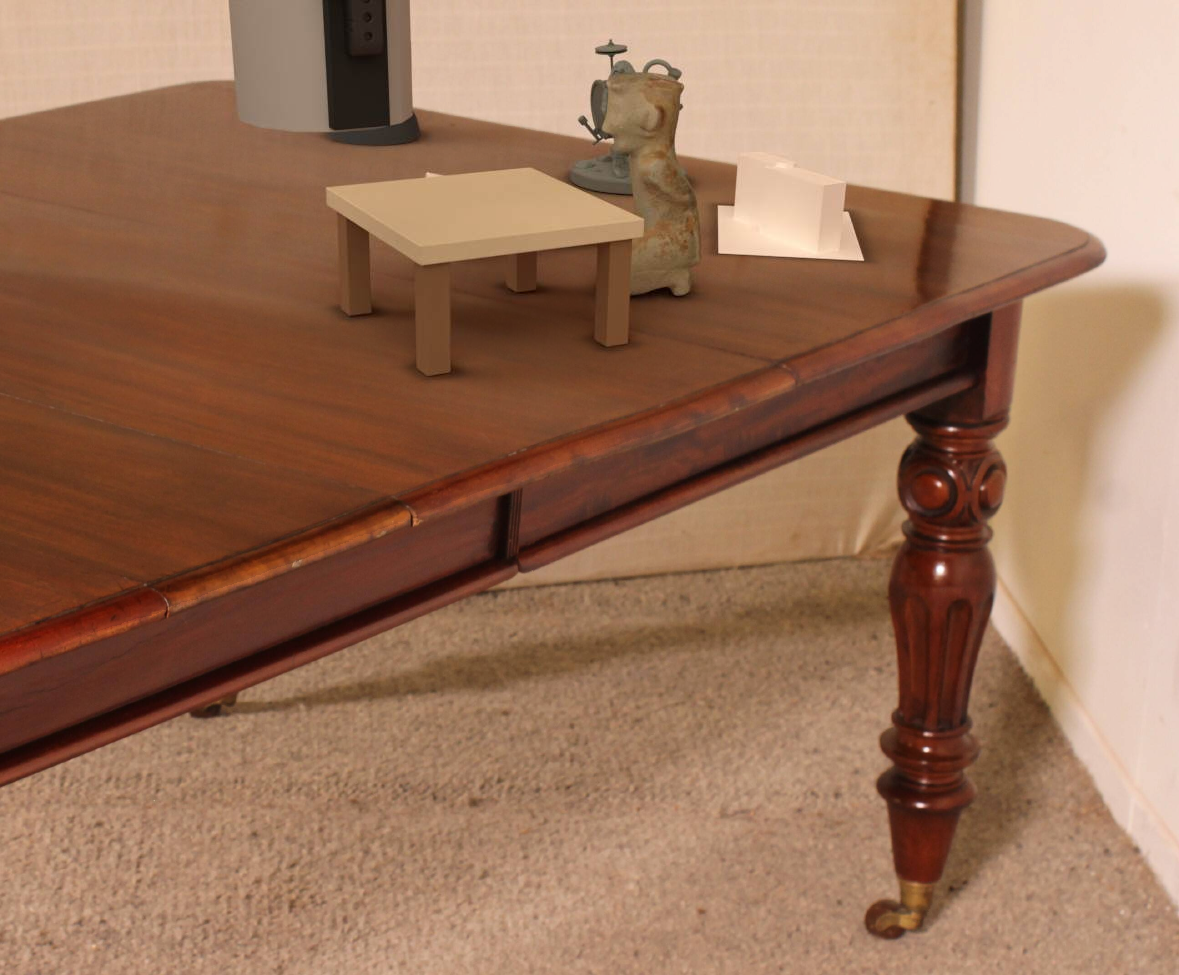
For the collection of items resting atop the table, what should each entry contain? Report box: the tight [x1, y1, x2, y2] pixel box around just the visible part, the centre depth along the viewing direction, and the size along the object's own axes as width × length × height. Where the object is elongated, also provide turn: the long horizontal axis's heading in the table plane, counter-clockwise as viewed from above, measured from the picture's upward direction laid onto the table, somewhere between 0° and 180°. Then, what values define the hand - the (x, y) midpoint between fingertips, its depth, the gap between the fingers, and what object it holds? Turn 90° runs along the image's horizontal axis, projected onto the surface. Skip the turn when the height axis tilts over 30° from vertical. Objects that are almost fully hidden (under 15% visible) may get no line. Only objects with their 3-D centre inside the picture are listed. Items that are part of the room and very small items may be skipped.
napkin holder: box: [717, 150, 865, 262], centre depth 120 cm, size 15×11×6 cm
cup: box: [228, 0, 414, 133], centre depth 70 cm, size 8×8×10 cm
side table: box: [325, 167, 644, 377], centre depth 96 cm, size 15×15×8 cm
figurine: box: [569, 38, 688, 195], centre depth 133 cm, size 11×11×12 cm
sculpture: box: [595, 71, 702, 297], centre depth 102 cm, size 6×7×15 cm
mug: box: [329, 58, 422, 146], centre depth 147 cm, size 12×9×11 cm
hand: (326, 108), depth 72 cm, fingers closed on cup, 8 cm apart
